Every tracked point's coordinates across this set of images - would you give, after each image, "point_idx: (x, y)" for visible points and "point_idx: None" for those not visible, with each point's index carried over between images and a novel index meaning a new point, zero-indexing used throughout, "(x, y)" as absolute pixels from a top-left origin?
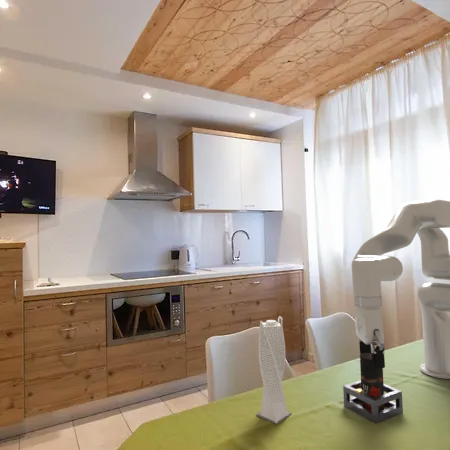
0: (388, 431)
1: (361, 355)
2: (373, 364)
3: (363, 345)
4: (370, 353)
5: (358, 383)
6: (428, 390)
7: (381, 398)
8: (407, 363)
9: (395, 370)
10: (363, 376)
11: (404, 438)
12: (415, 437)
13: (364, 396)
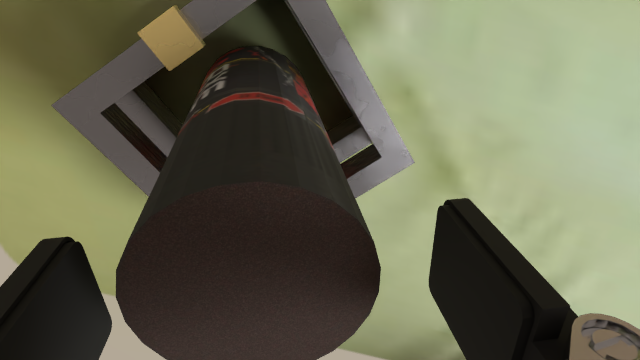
0: (49, 109)
1: (274, 202)
2: (25, 266)
3: (490, 306)
4: (353, 303)
5: (329, 70)
6: (419, 328)
7: (106, 155)
8: (635, 325)
9: (599, 278)
10: (207, 111)
11: (8, 157)
12: (36, 199)
13: (118, 55)
